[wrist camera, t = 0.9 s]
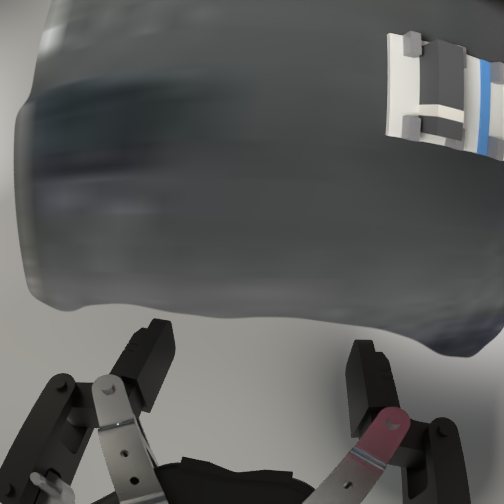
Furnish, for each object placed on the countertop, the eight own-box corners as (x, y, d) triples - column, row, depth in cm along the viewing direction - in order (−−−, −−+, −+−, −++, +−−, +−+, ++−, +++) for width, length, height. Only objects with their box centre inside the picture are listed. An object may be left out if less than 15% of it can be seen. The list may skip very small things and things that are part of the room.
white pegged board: (386, 34, 24) (396, 27, 21) (527, 83, 22) (543, 84, 18) (385, 135, 29) (395, 137, 26) (523, 166, 27) (538, 172, 24)
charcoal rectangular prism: (418, 47, 23) (437, 38, 19) (442, 54, 23) (463, 47, 18) (417, 131, 28) (436, 135, 23) (440, 136, 27) (462, 141, 23)
